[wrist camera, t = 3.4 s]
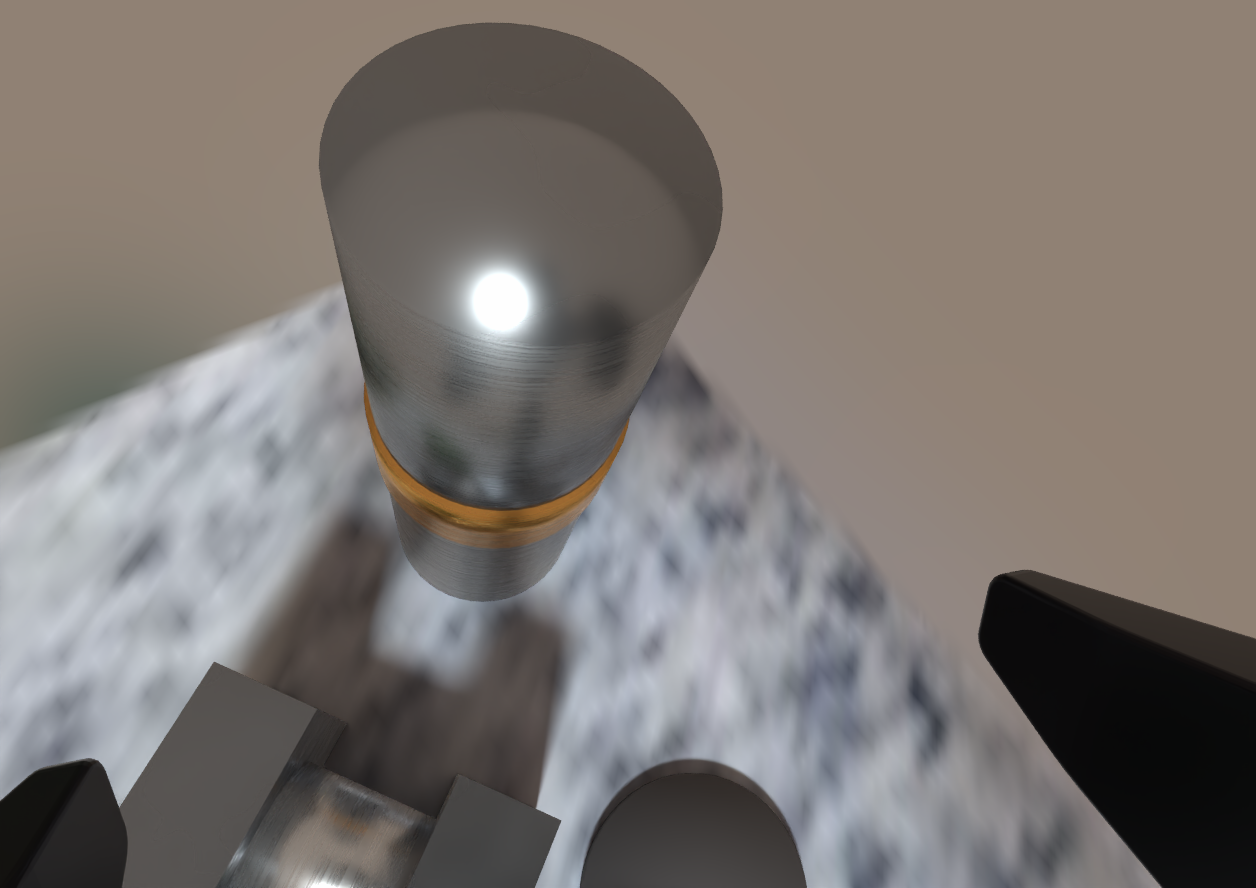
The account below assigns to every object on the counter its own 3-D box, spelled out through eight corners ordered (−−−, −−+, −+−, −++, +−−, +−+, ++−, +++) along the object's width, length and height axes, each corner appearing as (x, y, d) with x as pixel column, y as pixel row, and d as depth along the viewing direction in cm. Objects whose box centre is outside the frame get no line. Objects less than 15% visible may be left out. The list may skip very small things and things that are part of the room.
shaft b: (535, 809, 18) (561, 820, 14) (445, 1028, 16) (444, 1114, 12) (267, 686, 17) (214, 661, 14) (141, 893, 16) (37, 934, 12)
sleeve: (547, 625, 19) (693, 406, 8) (368, 578, 19) (231, 268, 7) (589, 464, 21) (756, 92, 10) (427, 417, 21) (396, -32, 9)
